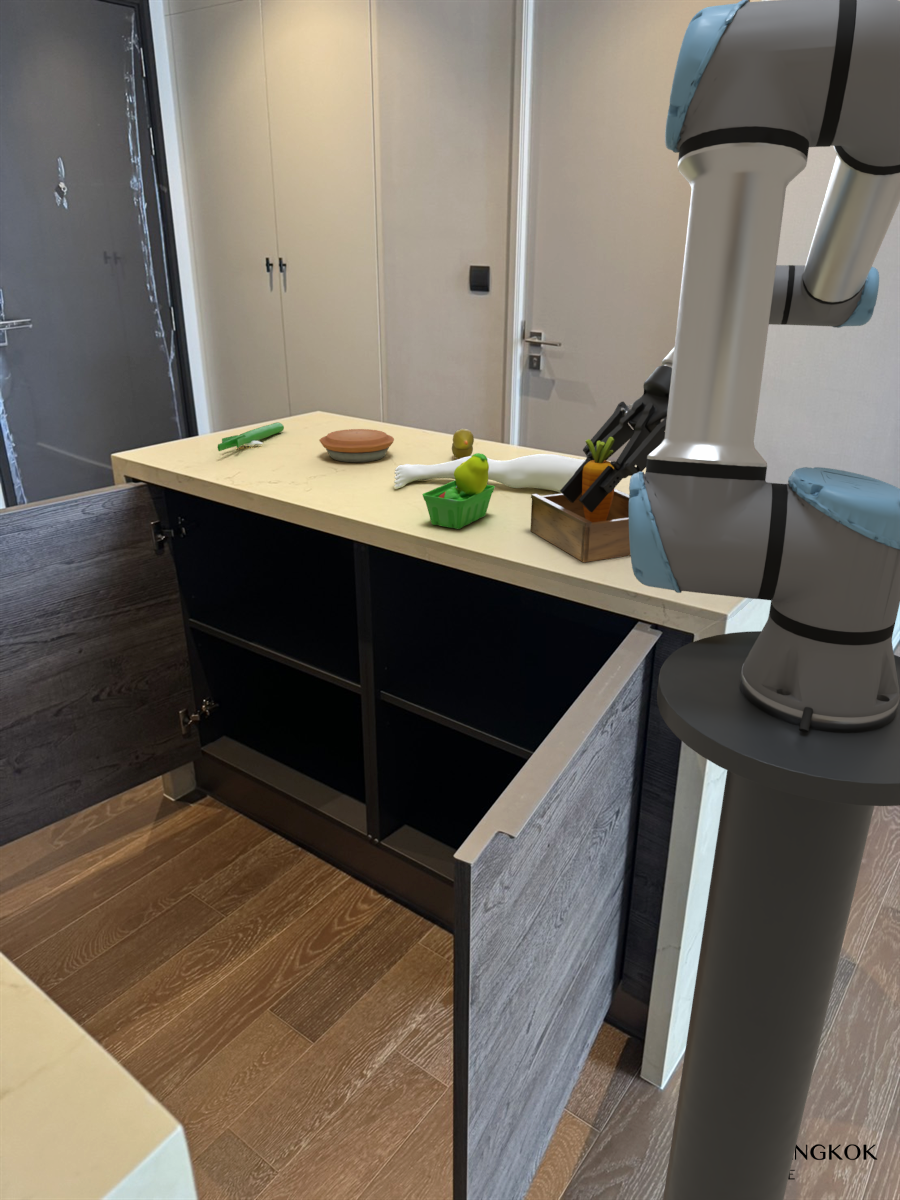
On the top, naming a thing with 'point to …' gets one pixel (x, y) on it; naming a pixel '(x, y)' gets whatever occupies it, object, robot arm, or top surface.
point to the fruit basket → (461, 495)
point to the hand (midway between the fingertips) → (575, 501)
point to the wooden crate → (582, 526)
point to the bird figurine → (462, 443)
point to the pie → (357, 445)
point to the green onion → (250, 436)
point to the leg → (502, 471)
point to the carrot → (593, 472)
